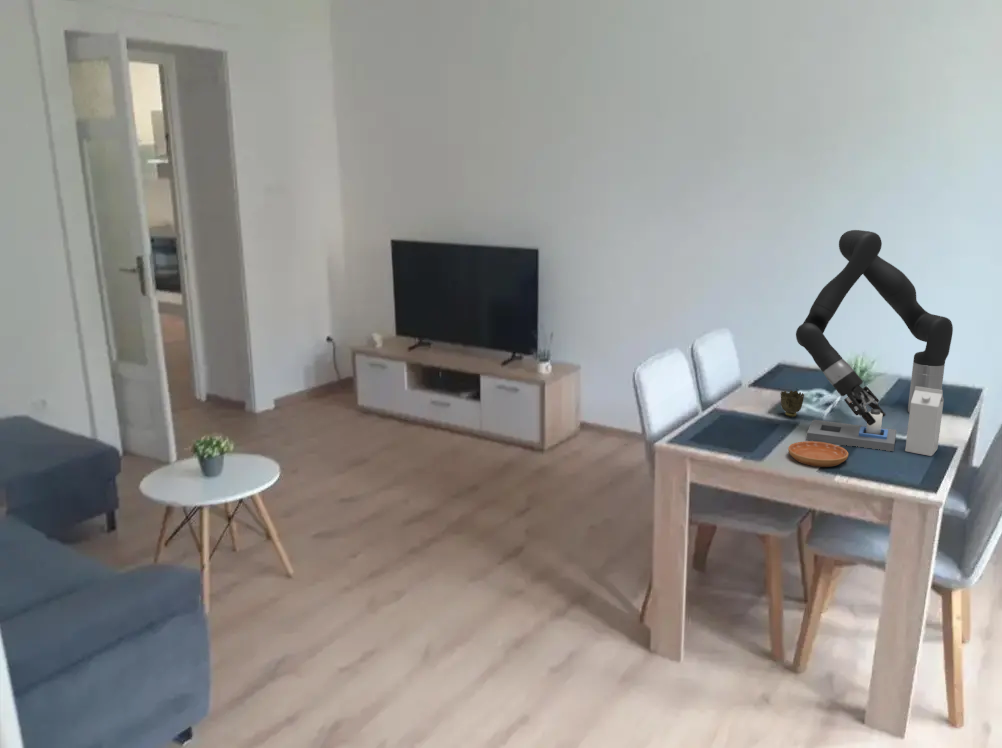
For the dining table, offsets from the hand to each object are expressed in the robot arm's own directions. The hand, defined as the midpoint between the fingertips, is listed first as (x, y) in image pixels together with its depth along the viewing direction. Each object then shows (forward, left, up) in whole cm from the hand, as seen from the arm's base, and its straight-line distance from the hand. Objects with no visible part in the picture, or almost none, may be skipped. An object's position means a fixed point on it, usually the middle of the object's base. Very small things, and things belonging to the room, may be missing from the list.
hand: (878, 420), depth 237 cm
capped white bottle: (0, -1, -7) cm, 7 cm away
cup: (-16, -27, -7) cm, 32 cm away
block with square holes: (0, -7, -7) cm, 10 cm away
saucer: (+22, -14, -7) cm, 27 cm away
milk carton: (+2, +12, -7) cm, 14 cm away
